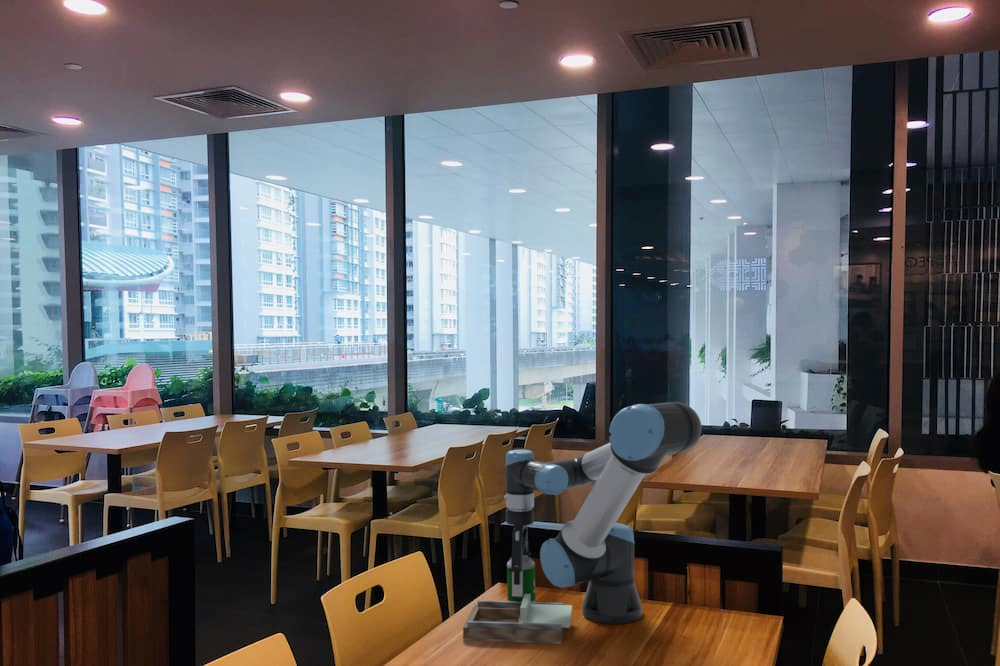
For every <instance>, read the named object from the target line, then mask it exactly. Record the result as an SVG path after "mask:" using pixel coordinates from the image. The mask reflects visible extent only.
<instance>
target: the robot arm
mask: <svg viewBox="0 0 1000 666" xmlns="http://www.w3.org/2000/svg"><path fill="white" fill-rule="evenodd" d="M702 429H703V428H702V422H701V419H700V416H699V415H698V413H697V412H696V410H695V409H693V408H692V407H691V406H689V405H687V404H686V403H683V402H679V401H668V402H659V403H649V404H647V403H638V404H632V405H631V406H627V407H624V408H622V409H621V410H619V411H618V412H617V413H615V416H614V417H613V418H612V421H611V423H610V426H609V429H608V430H609V431H608V432H609V433H610V436H608V440H609V442H608V443H607V444H604V445H602V446H599V447H597V448H594V449H593V450H591V451H588V452H586V453H584V454H582V455H580V456H578V457H574V458H569V459H562V460H554V461H548V462H545V461H544V462H543V461H537V460H535V456H534V452H533V451H532V450H530V449H513V450H512V449H511V450H509V451H507V452H506V454H505V465H504V468H505V495H503V499H505V506H506V509H505V522H506V523H507V524H508V525H510V526H513V527H514V528H513V529H512V531H511V536H512V540H511V545H512V546H511V558H512V563H511V568H509V572H512V596H517V597H523V571H522V559H523V557H529V556H531V550H530V549H529V538H528V536H529V534H528V533H529V529H528V526H529V525H532V524H533V523H534V522H535V511H534V510H535V509H534V507H535V492H540V493H543V494H545V495H554V496H558V495H560V494H562V493H563V492H564V491H565V490H569V489H572V488H578V487H584V486H586V487H587V486H591V485H593V487H592V489H591V490H590V492H589V493H588V496H587V497H586V499H585V500H584V502H583V503H582V505H581V507H580V510H578V513H577V515H575V518H574V520H573V519H571V520H568V521H566V523H564V524H563V526H562V528H561V529H560V531H559V533H558V535H557V536H556V537H555V538H553V537H552V538H549V539H548V540H545V541H544V542H543V543H542V544H541V546H540V550H539V551H540V552H539V557H540V558H539V560H540V564H541V569H542V570H543V573H544V575H545V577H546V578H547V580H548V581H549V582H550V583H551V584H552V585H553V586H555V587H558V588H567V587H568V588H571V587H573V586H575V585H580V584H582V583H583V584H584V583H586V582H588V585H587V588H586V592H585V596H584V599H583V602H582V615H583V616H584V618H586V619H589V620H591V621H594V622H597V623H601V624H609V625H618V624H619V625H621V624H627V623H628V624H630V623H633V622H636V621H638V620H640V619H641V618H642V616H643V605H642V602H641V598H640V596H639V592H638V591H637V587H636V584H635V581H636V580H635V544H636V543H635V538H634V537H635V536H634V531H633V529H632V527H631V526H629V525H626V524H623V523H619V522H617V521H618V519H619V518H620V517H621V514H623V511H624V510H625V508H626V506H627V505H628V503H629V502H630V500H631V498H632V497H633V495H634V493H635V492H636V491H637V488H638V487H639V485H640V483H641V482H642V480H643V478H644V477H645V476H646V475H652V474H654V473H655V472H656V471H657V469H658V468H659V466H660V465H661V463H662V461H663V460H664V459H665V457H666V456H667V457H670V456H673V455H675V454H680V453H685V452H687V451H690V450H692V449H693V448H694V447H695V445H696V444H698V442H699V440H700V437H701V434H702ZM534 491H535V492H534ZM515 566H519V567H515Z"/></svg>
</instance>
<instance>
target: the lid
mask: <svg viewBox="0 0 1000 666" xmlns="http://www.w3.org/2000/svg"><path fill="white" fill-rule="evenodd" d="M572 612H573V604H564V605H548V604H531V594H524V597H523V600H522V604H521V607H520V620H521V623H541V624H561V627H563V629H564V628H567V629H569V628H571V621H572Z"/></svg>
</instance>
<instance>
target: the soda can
mask: <svg viewBox="0 0 1000 666" xmlns="http://www.w3.org/2000/svg"><path fill="white" fill-rule="evenodd" d="M511 563H512V557H510V558H509V560H508V561H507V563H506V583H507V584H506V588H507V589H506V590H507V593H506V595H507V596H506V597H507V601H516V602H522V600H523V597H524V594H531V602H536V563H535V561H534V560H532V558H531V557H529V556H528V557H523V559H522V571H523V597H517V596H512V572H509V568H511ZM515 567H519V566H515Z"/></svg>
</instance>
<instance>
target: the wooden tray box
mask: <svg viewBox="0 0 1000 666" xmlns="http://www.w3.org/2000/svg"><path fill="white" fill-rule="evenodd" d="M521 604H522V602H516V601H508V600H484V599H483V600H482V599H481V600H477V604H474V605H473V607H472V608H471V611H470V613H469V614H468V617H467V619H466V620H465V623H464V625H463V627H462V628H463V629H462V632H463V633H462V639H463V641H467V642H468V641H472V642H492V643H493V642H494V643H495V642H498V643H499V642H500V643H519V644H520V643H522V644H525V643H526V644H549V645H550V644H553V645H561V644H562V639H563V638H562V637H563V631H564V627H561V624H541V623H521V620H520V607H521ZM531 604H548V605H565V602H548V601H547V602H545V601H544V602H542V601H535V602H531Z"/></svg>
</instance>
